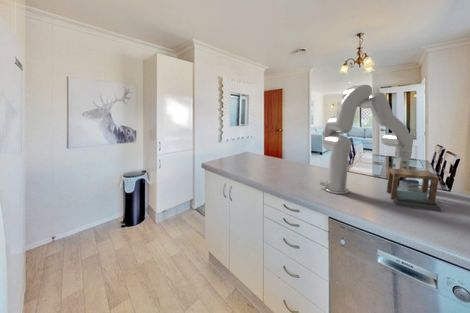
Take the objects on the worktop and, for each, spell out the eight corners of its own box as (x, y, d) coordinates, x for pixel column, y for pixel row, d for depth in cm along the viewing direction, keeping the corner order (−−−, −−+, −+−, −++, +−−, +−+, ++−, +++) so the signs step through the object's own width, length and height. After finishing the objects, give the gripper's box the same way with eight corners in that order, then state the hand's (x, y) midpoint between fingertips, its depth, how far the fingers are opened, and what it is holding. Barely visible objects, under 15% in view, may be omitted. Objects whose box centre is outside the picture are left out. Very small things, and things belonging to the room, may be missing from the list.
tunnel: (391, 199, 109) (394, 173, 107) (386, 191, 121) (389, 168, 119) (434, 204, 102) (438, 177, 100) (425, 195, 114) (428, 171, 111)
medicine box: (406, 198, 110) (408, 182, 109) (397, 195, 114) (399, 180, 113) (417, 197, 112) (419, 181, 111) (408, 194, 116) (410, 178, 115)
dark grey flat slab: (396, 205, 102) (396, 201, 101) (393, 201, 107) (394, 197, 107) (440, 211, 95) (441, 207, 94) (435, 206, 100) (435, 202, 100)
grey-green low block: (396, 197, 111) (397, 184, 110) (387, 184, 133) (388, 173, 132) (426, 201, 105) (428, 187, 104) (411, 186, 128) (412, 175, 126)
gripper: (415, 157, 117) (411, 189, 120) (407, 152, 131) (403, 181, 135) (398, 156, 121) (394, 187, 124) (392, 152, 135) (389, 180, 138)
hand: (399, 184), depth 129 cm, fingers closed on grey-green low block, 2 cm apart
